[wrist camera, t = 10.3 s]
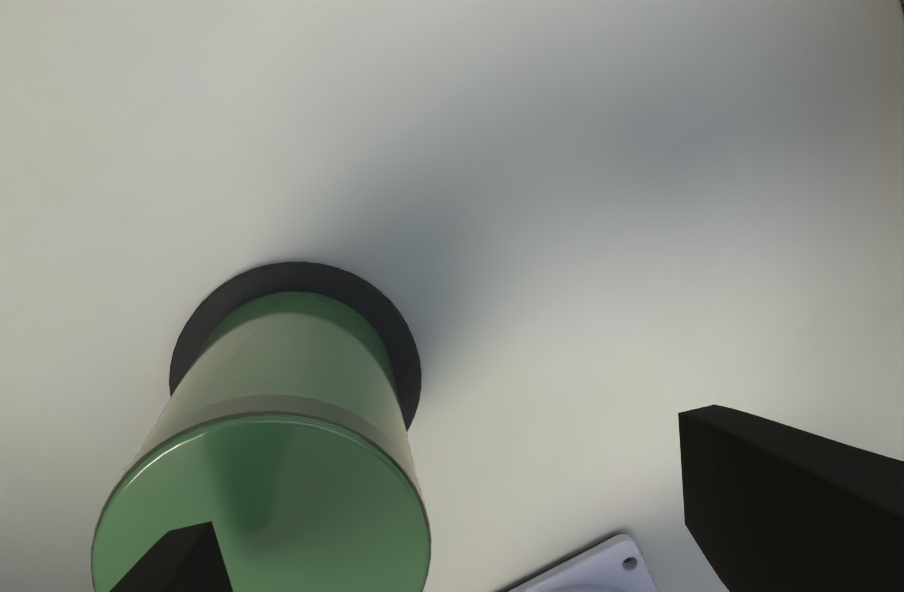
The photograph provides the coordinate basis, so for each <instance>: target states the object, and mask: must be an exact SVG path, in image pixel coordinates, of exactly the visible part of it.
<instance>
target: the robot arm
mask: <svg viewBox="0 0 904 592" xmlns="http://www.w3.org/2000/svg"><path fill="white" fill-rule="evenodd" d="M678 416H679V432H680V449H681V465H682V482H683V498H684V515H685V525H686V526H687V528H688V529H689V531H690V533H691V534H692V536H693V538H694V539H695V541H696V543H697V544H698V546H699V547H700V549H701V551H702V552H703V554H704V555H705V557H706V559H707V560H708V562H709V563H710V565H711V566H712V568H713V569H714V571H715V572H716V574H717V575H718V577H719V578H720V580H721V581H722V582H723V584H724V585H725V586H726V587H727V588H728V590H729V591H730V592H904V461H900V460H897V459H893V458H889V457H886V456H883V455H879V454H876V453H873V452H869V451H866V450H863V449H859V448H856V447H853V446H850V445H846V444H843V443H840V442H837V441H834V440H830V439H827V438H824V437H821V436H818V435H815V434H812V433H809V432H806V431H803V430H799V429H796V428H793V427H790V426H787V425H784V424H781V423H778V422H775V421H772V420H769V419H765V418H762V417H759V416H756V415H752V414H749V413H746V412H742V411H739V410H735V409H731V408H728V407H723V406H718V405H711V406H707V407H702V408H698V409H694V410H689V411H685V412H681V413H678ZM630 557H632V558H631V560H630V561H628V562H626V563H623V562H624V560H626V559H627V558H630ZM109 592H233V589H232V586H231V583H230V579H229V576H228V573H227V570H226V566H225V563H224V560H223V557H222V553H221V550H220V547H219V543H218V540H217V537H216V534H215V530H214V527H213V524H212V521H209V522H205V523H201V524H196V525H192V526H188V527H183V528H179V529H175V530H170V531H168V532H167V533H166V534H165V535H163V536H162V537H161V538H160V539H159V540H158V541H157V542H156V543H155V544H154V545H153V546H152V547H151V548H150V549H149V550H148V551H147V552H146V553H145V554H144V555H143V556H142V557H141V558H140V559H139V561H138V562H137V563H136V564H135V565H134V566H133V567H132V568H131V569H130V570H129V571H128V572H127V573H126V574H125V575H124V576H123V578H122V579H121V580H120V581H119V582H118V583H117V584H116V585H115V586H114V587H113V588H112V589H111V590H110V591H109ZM508 592H658V590H657V588H656V586H655V584H654V581H653V579H652V577H651V575H650V572H649V570H648V568H647V566H646V563H645V561H644V559H643V557H642V554H641V552H640V550H639V548H638V545H637V544H636V542H635V541H634V540H633V538H632V537H631V536H629V535H627V534H620V535H616V536H614V537H612V538H610V539H609V540H607V541H605V542H603V543H601V544H599V545H597V546H595V547H593V548H591V549H589V550H587V551H585V552H583V553H581V554H580V555H578V556H576V557H574V558H572V559H570V560H568V561H566V562H564V563H562V564H560V565H558V566H556V567H554V568H553V569H551V570H549V571H547V572H545V573H543V574H541V575H539V576H537V577H535V578H533V579H531V580H529V581H527V582H525V583H524V584H522V585H520V586H518V587H516V588H514V589H512V590H510V591H508Z"/></svg>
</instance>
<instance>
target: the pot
mask: <svg viewBox="0 0 904 592" xmlns="http://www.w3.org/2000/svg"><path fill="white" fill-rule="evenodd" d="M209 521H212V524H213V527H214V530H215V534H216V537H217V540H218V543H219V547H220V550H221V553H222V557H223V560H224V563H225V566H226V570H227V573H228V576H229V579H230V583H231V586H232V589H233V592H423V589H424V586H425V582H426V579H427V576H428V572H429V566H430V560H431V533H430V525H429V519H428V515H427V510H426V506H425V501H424V498H423V494H422V491H421V488H420V484H419V482H418V480H417V478H416V473H415V469H414V464H413V460H412V455H411V451H410V446H409V441H408V437H407V432H406V428H405V423H404V419H403V414H402V410H401V405H400V401H399V396H398V392H397V387H396V382H395V378H394V373H393V369H392V364H391V361H390V357H389V354H388V351H387V349H386V347H385V345H384V342H383V341H382V339H381V337H380V336H379V334H378V333H377V331H376V330H375V329H374V328H373V326H372V325H371V324H370V323H369V322H368V321H367V320H366V319H365V318H364V317H363V316H362V315H361V314H359V313H358V312H357V311H355V310H354V309H352V308H351V307H349V306H348V305H346V304H344V303H342V302H340V301H338V300H335V299H333V298H330V297H327V296H324V295H320V294H316V293H310V292H300V291H289V292H279V293H272V294H268V295H264V296H261V297H258V298H255V299H253V300H250V301H248V302H246V303H244V304H242V305H241V306H239V307H237V308H235V309H234V310H233V311H231V312H230V313H229V314H227V315H226V316H225V317H224V318H223V319H222V320H221V321H220V322H219V323H218V324H217V325H216V326H215V327H214V328H213V329H212V331H211V332H210V333H209V335H208V336H207V338H206V339H205V341H204V343H203V344H202V346H201V348H200V349H199V351H198V353H197V354H196V356H195V358H194V359H193V361H192V363H191V365H190V366H189V368H188V370H187V371H186V373H185V375H184V376H183V378H182V380H181V381H180V383H179V385H178V386H177V388H176V390H175V392H174V393H173V395H172V397H171V398H170V400H169V402H168V403H167V405H166V407H165V408H164V410H163V412H162V413H161V415H160V417H159V418H158V420H157V422H156V424H155V425H154V427H153V429H152V430H151V432H150V434H149V435H148V437H147V439H146V440H145V442H144V444H143V445H142V447H141V449H140V451H139V452H138V453H137V454H136V455H135V456H134V458H133V459H132V460H131V462H130V463H129V464H128V466H127V467H126V468H125V470H124V471H123V473H122V475H121V476H120V478H119V480H118V481H117V483H116V485H115V486H114V488H113V490H112V491H111V493H110V495H109V497H108V499H107V501H106V502H105V504H104V506H103V508H102V510H101V513H100V516H99V519H98V521H97V524H96V527H95V531H94V536H93V542H92V547H91V572H92V579H93V586H94V591H95V592H109V591H110V590H111V589H112V588H113V587H114V586H115V585H116V584H117V583H118V582H119V581H120V580H121V579H122V578H123V576H124V575H125V574H126V573H127V572H128V571H129V570H130V569H131V568H132V567H133V566H134V565H135V564H136V563H137V562H138V561H139V559H140V558H141V557H142V556H143V555H144V554H145V553H146V552H147V551H148V550H149V549H150V548H151V547H152V546H153V545H154V544H155V543H156V542H157V541H158V540H159V539H160V538H161V537H162V536H163V535H165V534H166V533H167V532H168V531H170V530H175V529H179V528H183V527H188V526H192V525H196V524H201V523H205V522H209Z"/></svg>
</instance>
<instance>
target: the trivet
mask: <svg viewBox="0 0 904 592" xmlns="http://www.w3.org/2000/svg"><path fill="white" fill-rule="evenodd" d="M289 291H300V292H310V293H316V294H320V295H324V296H327V297H330V298H333V299H335V300H338V301H340V302H342V303H344V304H346V305H348V306H349V307H351V308H352V309H354V310H355V311H357V312H358V313H359V314H361V315H362V316H363V317H364V318H365V319H366V320H367V321H368V322H369V323H370V324H371V325H372V326H373V328H374V329H375V330H376V331H377V333H378V334H379V336H380V337H381V339H382V341H383V342H384V345H385V347H386V349H387V351H388V354H389V357H390V361H391V364H392V369H393V373H394V378H395V382H396V387H397V392H398V396H399V401H400V405H401V410H402V414H403V419H404V423H405V428H406V432H407V431H408V429H409V427H410V425H411V423H412V420H413V418H414V416H415V413H416V409H417V406H418V403H419V397H420V390H421V368H420V360H419V355H418V352H417V348H416V345H415V342H414V339H413V336H412V334H411V332H410V329H409V327H408V325H407V323H406V322H405V320H404V318H403V317H402V315H401V313H400V312H399V311H398V310H397V308H396V307H395V306H394V305H393V303H392V302H391V301H390V300H389V299H388V298H387V297H386V296H385V295H384V294H383V293H382V292H380V291H379V290H378V289H377V288H375V287H374V286H372V285H371V284H370V283H368V282H367V281H365V280H363V279H362V278H360V277H358V276H356V275H354V274H352V273H350V272H347V271H344V270H342V269H339V268H336V267H332V266H328V265H324V264H319V263H310V262H284V263H277V264H270V265H266V266H263V267H259V268H255V269H252V270H250V271H248V272H245V273H243V274H240V275H238V276H236V277H235V278H233V279H231V280H229V281H228V282H226V283H224V284H223V285H222V286H220V287H219V288H218V289H216V290H215V291H214V292H212V293H211V294H210V295H209V296H208V297H207V298H206V299H205V300H204V301H203V302H202V303H201V304H200V305H199V307H198V308H197V309H196V311H195V312H194V313H193V315H192V316H191V317H190V319H189V320H188V322H187V323H186V325H185V327H184V328H183V330H182V332H181V334H180V336H179V338H178V341H177V343H176V346H175V349H174V352H173V356H172V361H171V366H170V378H169V386H170V396H171V397H172V395H173V393H174V392H175V390H176V388H177V386H178V385H179V383H180V381H181V380H182V378H183V376H184V375H185V373H186V371H187V370H188V368H189V366H190V365H191V363H192V361H193V359H194V358H195V356H196V354H197V353H198V351H199V349H200V348H201V346H202V344H203V343H204V341H205V339H206V338H207V336H208V335H209V333H210V332H211V331H212V329H213V328H214V327H215V326H216V325H217V324H218V323H219V322H220V321H221V320H222V319H223V318H224V317H225V316H226V315H227V314H229V313H230V312H231V311H233V310H234V309H235V308H237V307H239V306H241V305H242V304H244V303H246V302H248V301H250V300H253V299H255V298H258V297H261V296H264V295H268V294H272V293H279V292H289Z"/></svg>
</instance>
